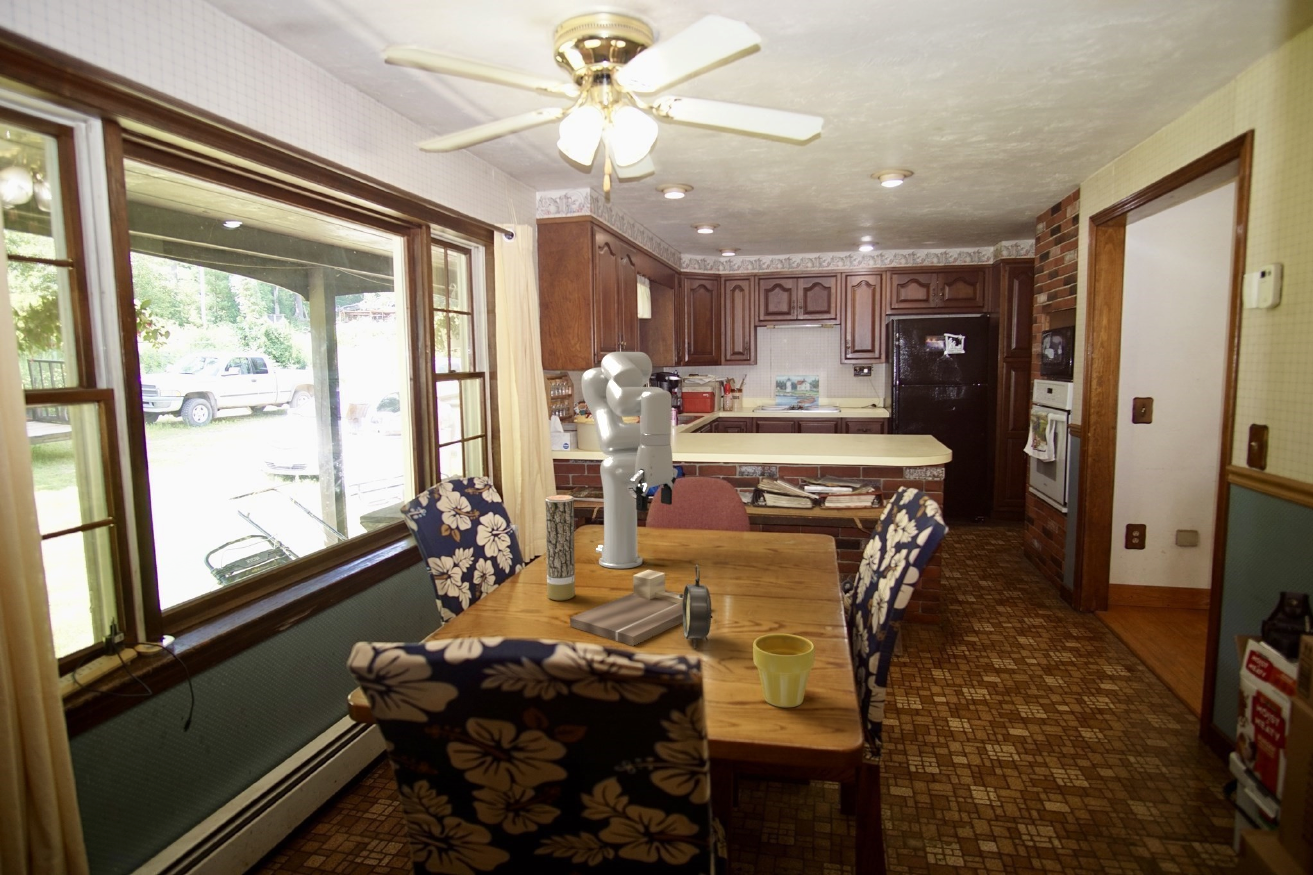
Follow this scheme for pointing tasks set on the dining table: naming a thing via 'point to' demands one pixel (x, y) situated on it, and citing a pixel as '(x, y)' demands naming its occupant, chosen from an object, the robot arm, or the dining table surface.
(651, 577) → the cream square mallet
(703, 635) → the alarm clock
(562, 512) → the paper tube
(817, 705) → the dining table surface
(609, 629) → the wooden cutting board
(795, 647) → the plant pot
